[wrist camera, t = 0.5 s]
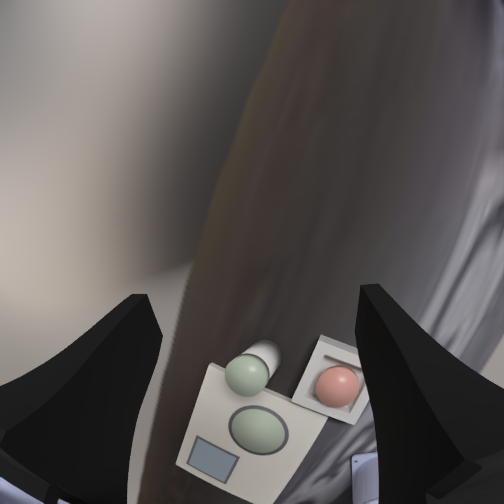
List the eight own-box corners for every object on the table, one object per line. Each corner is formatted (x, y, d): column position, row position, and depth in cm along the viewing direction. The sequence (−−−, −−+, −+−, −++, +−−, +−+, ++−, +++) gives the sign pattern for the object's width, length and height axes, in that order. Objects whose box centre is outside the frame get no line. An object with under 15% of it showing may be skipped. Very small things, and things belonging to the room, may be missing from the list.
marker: (285, 370, 34) (268, 396, 27) (252, 372, 36) (228, 396, 29) (280, 337, 35) (261, 356, 28) (246, 340, 36) (221, 358, 29)
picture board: (270, 505, 34) (268, 509, 33) (178, 460, 39) (175, 464, 38) (329, 413, 33) (328, 417, 31) (212, 362, 37) (208, 365, 36)
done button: (347, 408, 30) (347, 413, 29) (310, 394, 31) (309, 398, 30) (365, 373, 29) (366, 377, 28) (327, 359, 31) (326, 362, 30)
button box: (354, 415, 32) (354, 425, 29) (294, 392, 34) (290, 401, 32) (384, 358, 31) (386, 365, 28) (320, 334, 33) (318, 340, 31)
